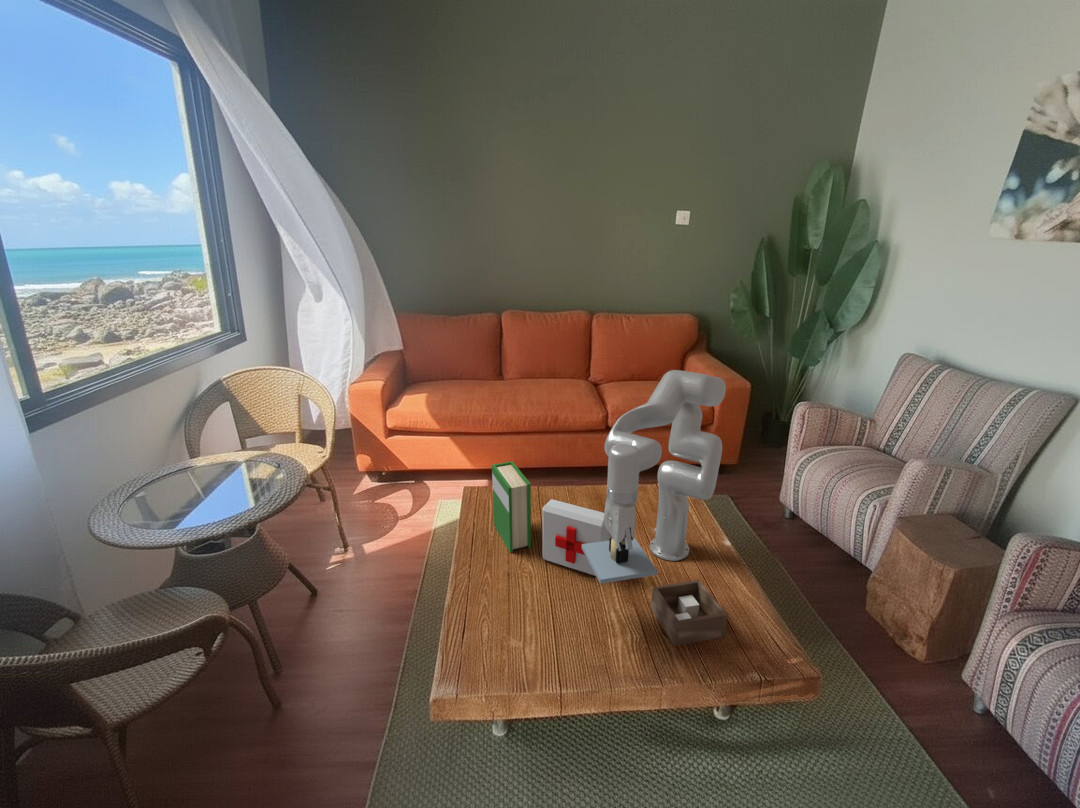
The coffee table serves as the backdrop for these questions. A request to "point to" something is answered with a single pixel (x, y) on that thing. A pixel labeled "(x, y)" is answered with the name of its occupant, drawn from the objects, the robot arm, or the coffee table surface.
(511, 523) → the hardback book
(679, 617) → the cube
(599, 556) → the lid
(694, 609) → the cube
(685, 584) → the box
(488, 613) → the coffee table surface
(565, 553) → the bevelled white case
